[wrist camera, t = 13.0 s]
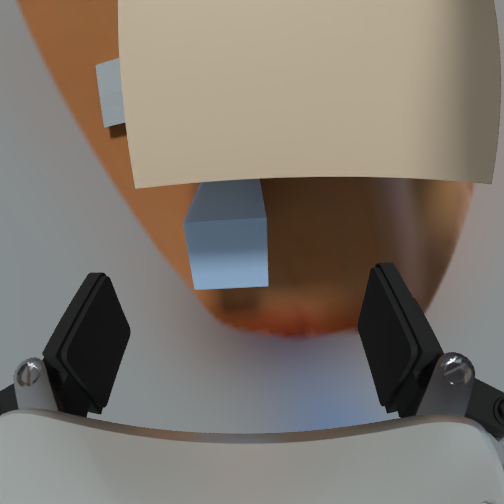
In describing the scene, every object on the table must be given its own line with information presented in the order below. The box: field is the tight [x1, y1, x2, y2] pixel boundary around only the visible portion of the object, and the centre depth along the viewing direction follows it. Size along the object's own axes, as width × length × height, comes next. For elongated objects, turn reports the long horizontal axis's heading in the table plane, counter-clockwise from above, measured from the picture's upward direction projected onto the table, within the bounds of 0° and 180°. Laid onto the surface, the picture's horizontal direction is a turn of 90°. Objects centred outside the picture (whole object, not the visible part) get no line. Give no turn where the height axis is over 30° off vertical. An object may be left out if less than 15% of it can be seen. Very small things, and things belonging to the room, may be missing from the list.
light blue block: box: [183, 178, 268, 290], centre depth 17 cm, size 4×14×9 cm, turn 3°
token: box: [96, 58, 125, 128], centre depth 18 cm, size 5×5×2 cm
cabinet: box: [118, 0, 501, 189], centre depth 12 cm, size 12×8×14 cm
